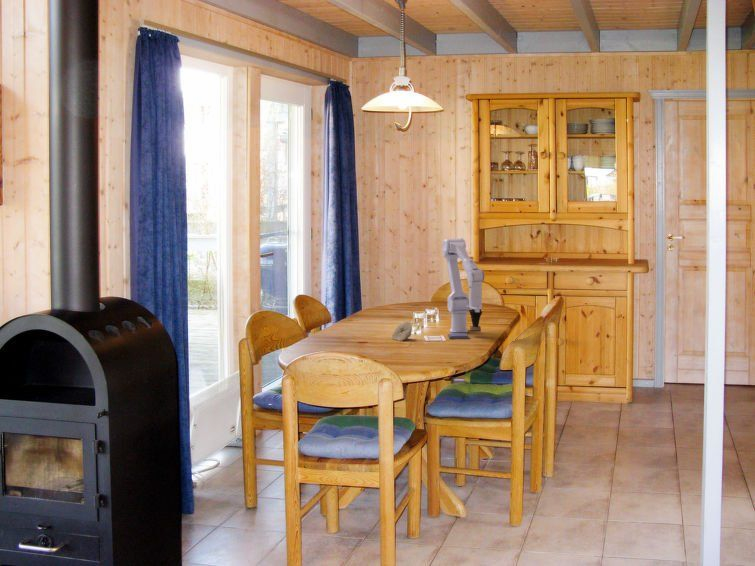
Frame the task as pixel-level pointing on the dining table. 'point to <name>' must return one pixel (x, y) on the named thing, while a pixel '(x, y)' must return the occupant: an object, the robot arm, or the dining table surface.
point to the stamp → (475, 328)
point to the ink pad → (458, 336)
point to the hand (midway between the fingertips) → (475, 325)
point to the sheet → (435, 338)
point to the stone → (402, 331)
